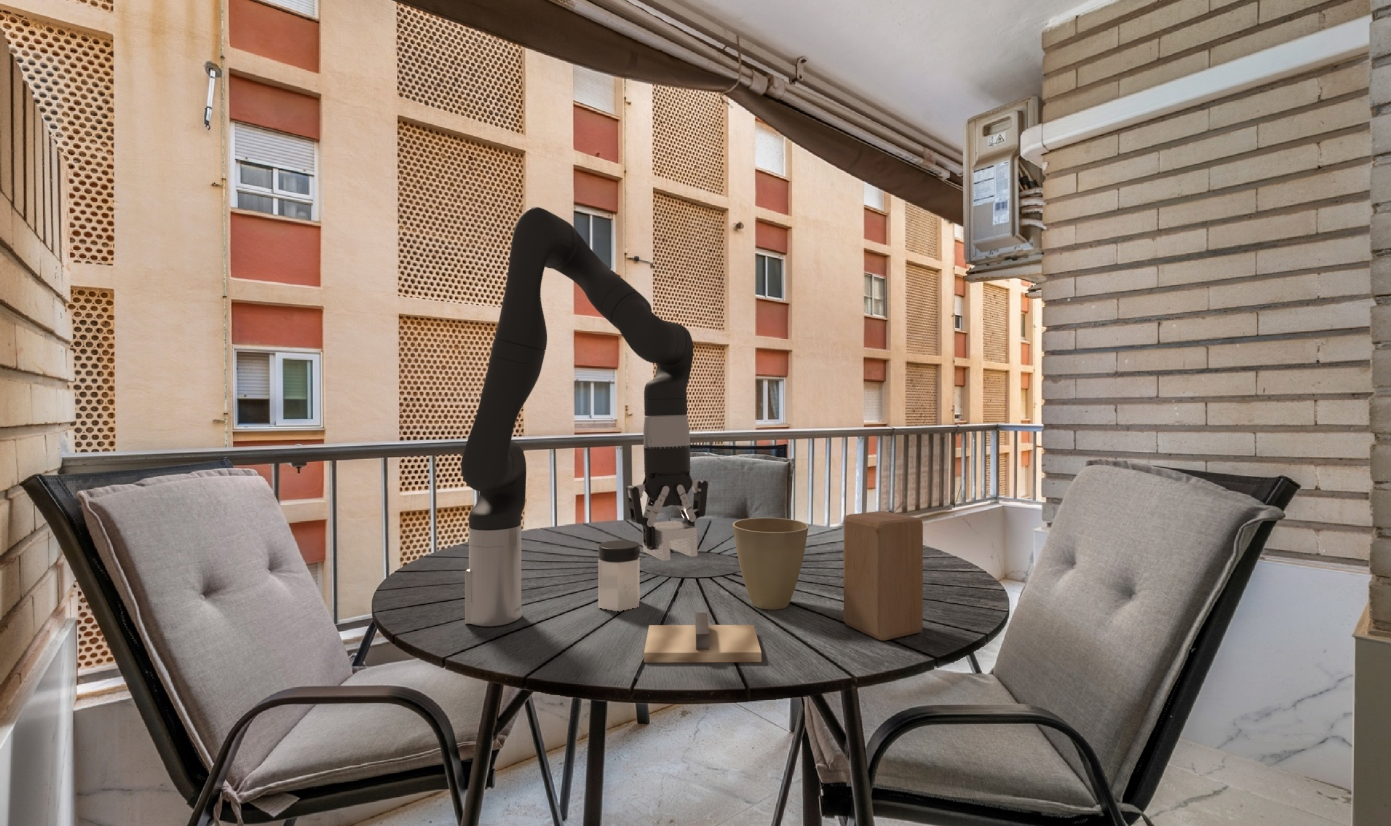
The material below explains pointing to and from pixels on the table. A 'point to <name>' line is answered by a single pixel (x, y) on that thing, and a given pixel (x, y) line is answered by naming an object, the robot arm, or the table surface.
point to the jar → (618, 575)
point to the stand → (702, 643)
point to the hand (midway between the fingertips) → (669, 546)
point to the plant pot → (770, 558)
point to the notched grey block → (673, 539)
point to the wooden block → (883, 574)
